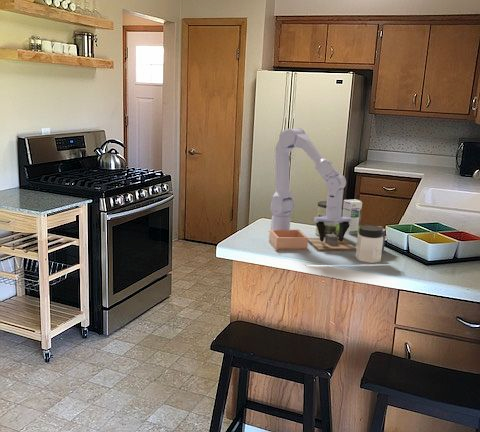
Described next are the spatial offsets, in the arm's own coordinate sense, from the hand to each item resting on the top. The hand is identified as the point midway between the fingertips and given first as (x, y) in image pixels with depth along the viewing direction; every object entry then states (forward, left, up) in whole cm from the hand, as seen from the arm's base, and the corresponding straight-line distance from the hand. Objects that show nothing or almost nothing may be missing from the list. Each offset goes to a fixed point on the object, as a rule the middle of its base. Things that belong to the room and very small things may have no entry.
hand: (331, 240), depth 196 cm
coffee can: (-15, +4, -3) cm, 16 cm away
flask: (+9, +15, -3) cm, 18 cm away
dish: (-1, -17, -2) cm, 17 cm away
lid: (0, 0, -2) cm, 2 cm away
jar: (+17, +8, -3) cm, 19 cm away
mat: (0, 0, -2) cm, 2 cm away
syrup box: (-20, +16, -3) cm, 26 cm away
